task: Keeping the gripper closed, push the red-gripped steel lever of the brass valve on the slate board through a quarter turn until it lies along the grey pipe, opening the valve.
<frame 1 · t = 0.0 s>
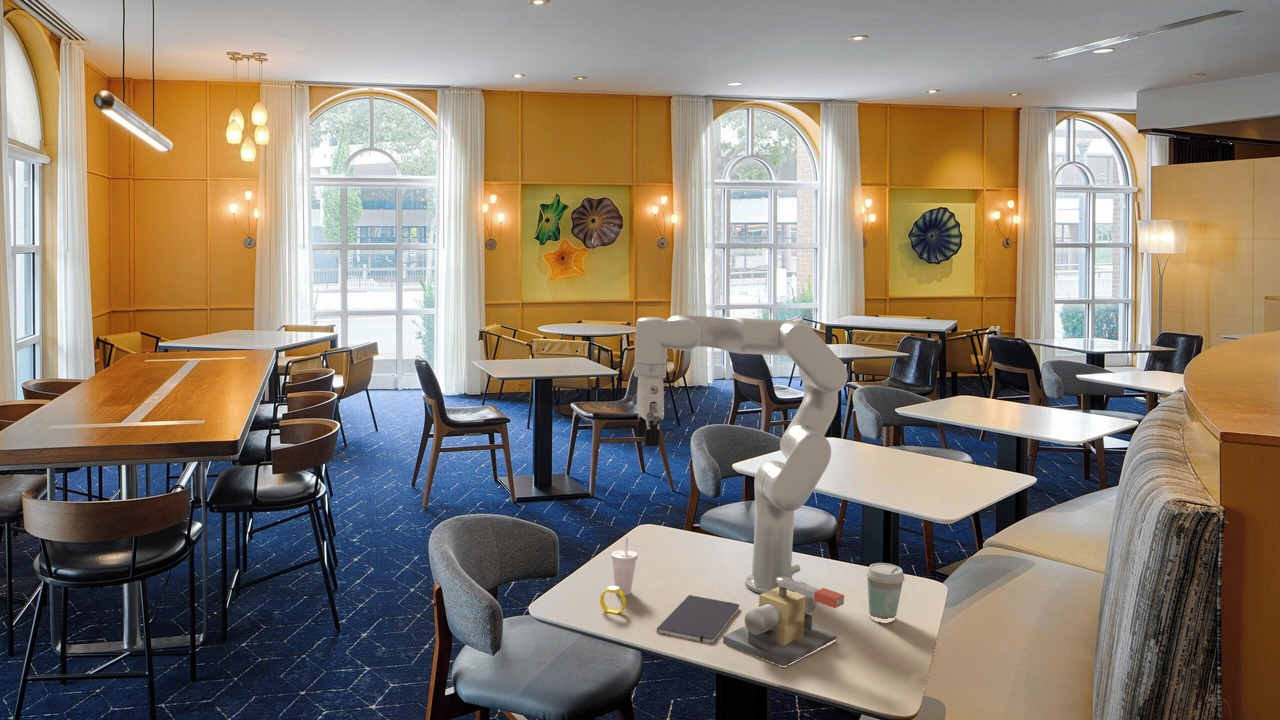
hand: (647, 441, 222), 37 cm above the table, tool pointing down, fingers open, 9 cm apart
lever: (807, 590, 195), point 14 cm above the table, hinge at 0.0°
watch: (612, 613, 214), on the table
coffee cup: (882, 619, 216), on the table
notebook: (699, 623, 211), on the table
smoothie: (623, 593, 226), on the table
valve stand: (779, 642, 201), on the table
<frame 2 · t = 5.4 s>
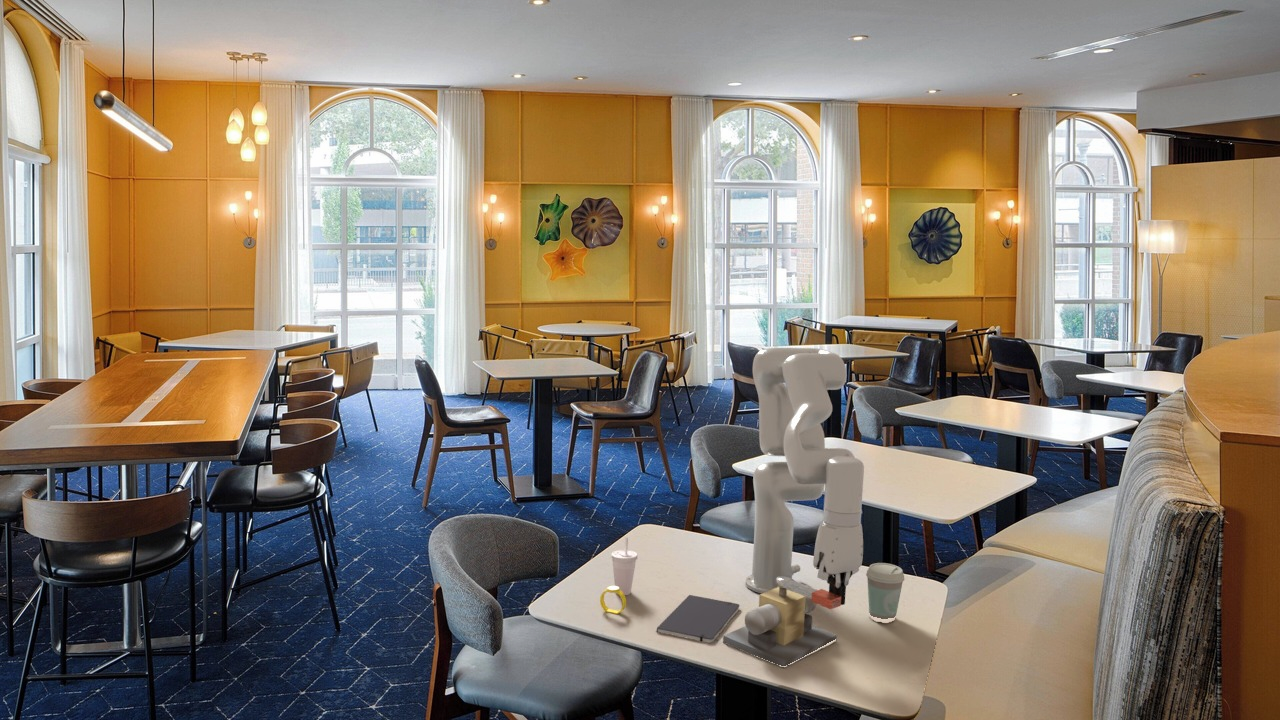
hand: (836, 602, 193), 12 cm above the table, tool pointing down, fingers closed
lever: (806, 591, 194), point 14 cm above the table, hinge at 5.0°, touching gripper
everything else where it was.
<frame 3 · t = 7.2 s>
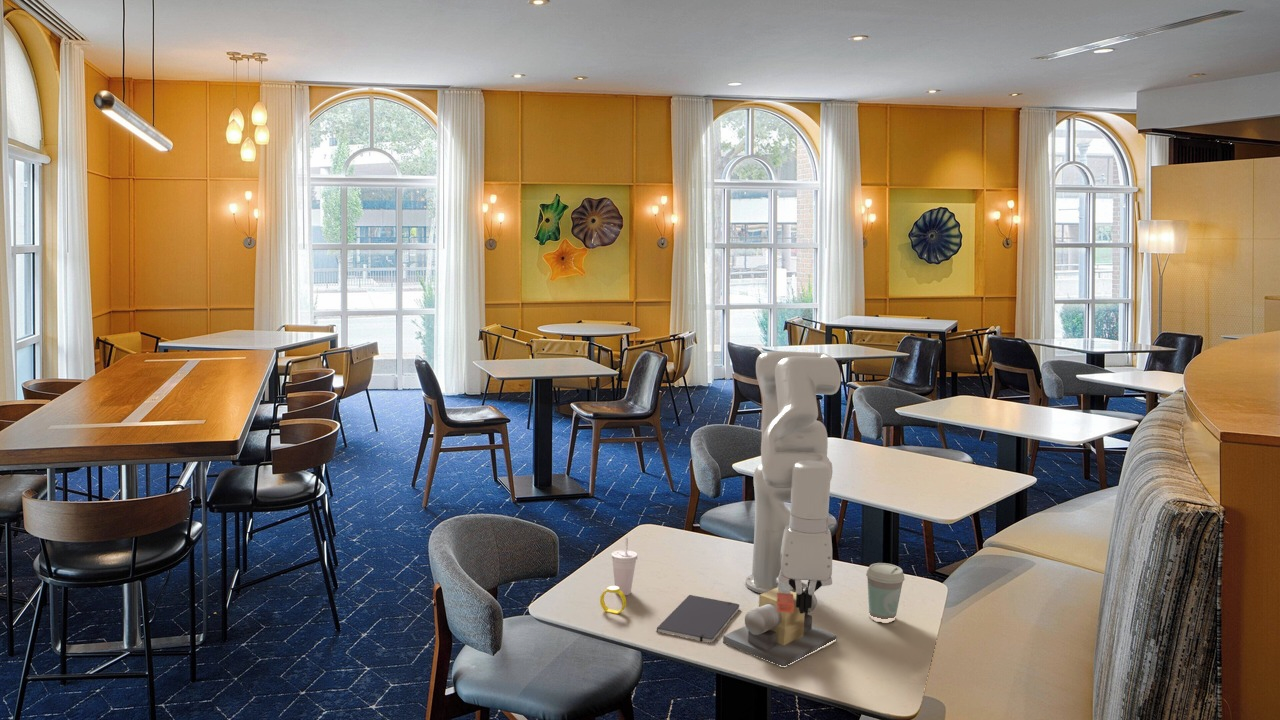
hand: (803, 611, 188), 12 cm above the table, tool pointing down, fingers closed
lever: (784, 592, 193), point 14 cm above the table, hinge at 52.0°, touching gripper
everything else where it was.
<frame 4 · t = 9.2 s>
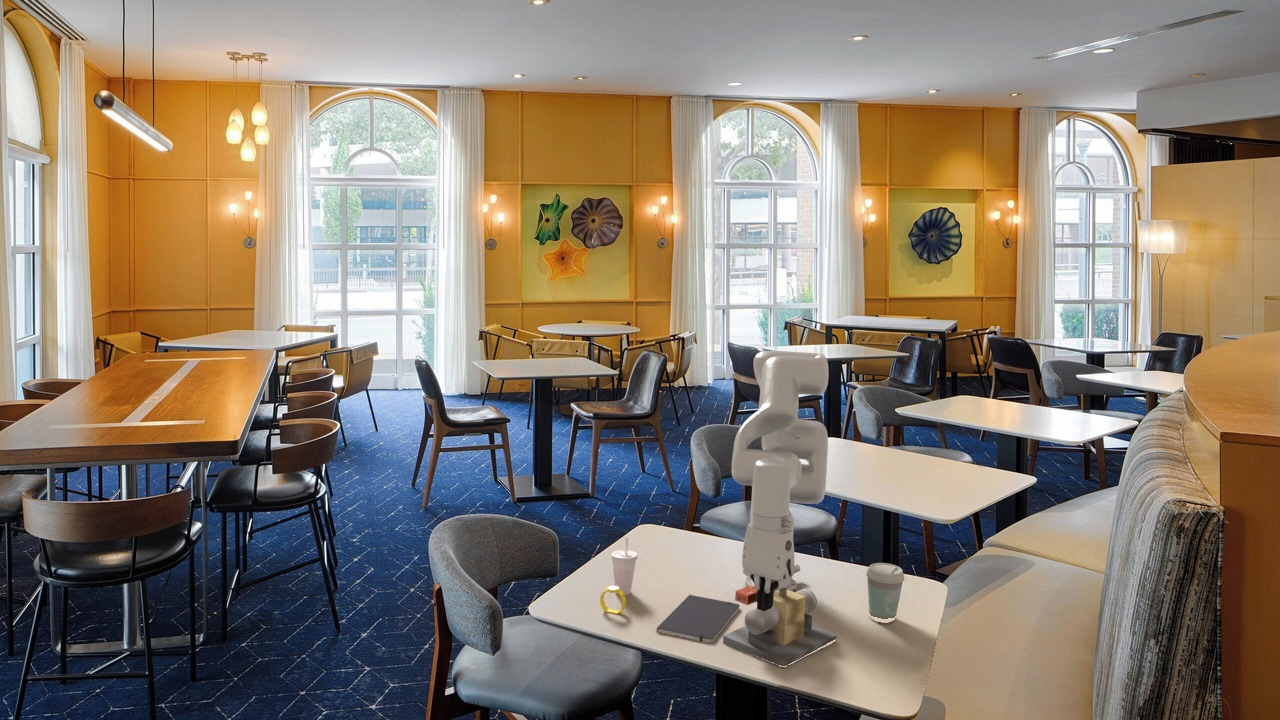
hand: (764, 608, 189), 12 cm above the table, tool pointing down, fingers closed
lever: (765, 589, 195), point 13 cm above the table, hinge at 90.8°, touching gripper
everything else where it was.
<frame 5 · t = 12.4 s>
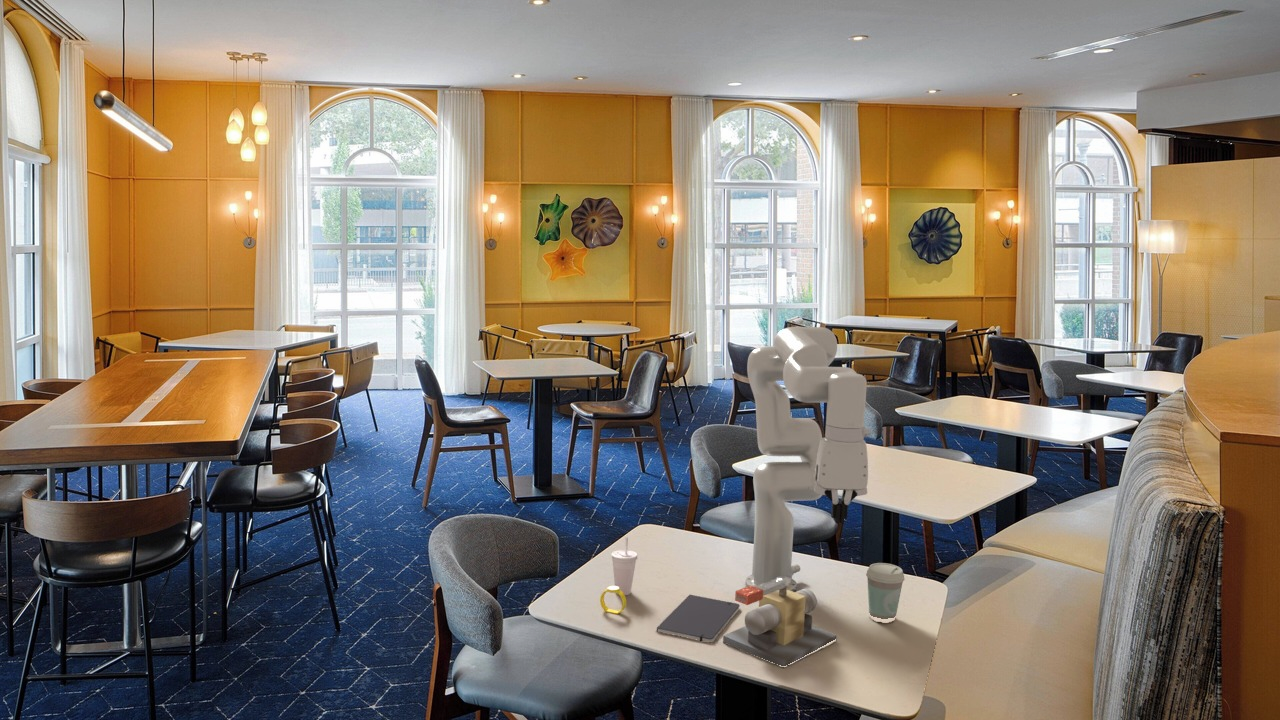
hand: (838, 521, 191), 29 cm above the table, tool pointing down, fingers closed
lever: (765, 589, 195), point 13 cm above the table, hinge at 90.8°
everything else where it was.
at the end: lever at +91° (first picture: +0°); notebook moved 0.8 cm from its start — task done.
